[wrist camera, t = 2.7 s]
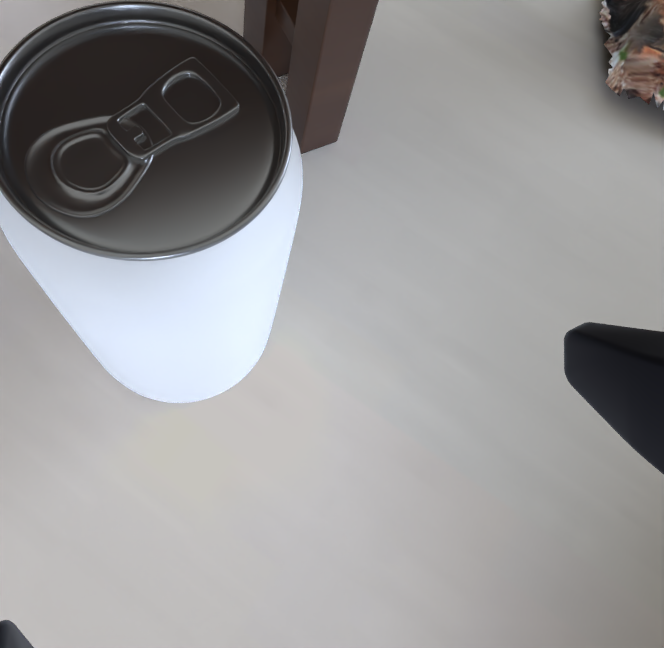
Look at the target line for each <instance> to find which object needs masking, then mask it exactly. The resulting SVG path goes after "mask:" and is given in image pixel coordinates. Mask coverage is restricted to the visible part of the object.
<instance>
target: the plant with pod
mask: <svg viewBox="0 0 664 648" xmlns="http://www.w3.org/2000/svg"><path fill="white" fill-rule="evenodd" d="M601 3H602V5H603V7H604V8H602V10H601V12H599V14H600V15H601V18H600V19H599V20H602V21H603V22H602V24H603V26H604V30H605V31H606V32H607V33H609V34H610V35H611V36H610V38H609V39H608V40H607V41H606V42H605V44H604V45H605V47H606V48H607V49H608V51H609V52H610V53H611V55H612V56H613V57H612V58H611V59H610V61H609V63H610V64H611V66H612V67H613V68H612V69H608V73H609V77H608V78H607V80H606V82H605V83H606V84H607V85H608V86H609V87H610V88H611V89H612V90H613V91H614V92H615V93H616V94H618V95H619V96H620V95H621V93H622V91H623V89H625V91H626V94H627V96H628V99H630V98H635V97H639V96H640V97H641V98H642V99H643V100H644V101H645V102H646V103H647V104H649V103H650V101H651V98H652V96H653V93H654V96H655V101H656V106H657V108H658V107H659V105H660V104H661V103H662V101H663V100H664V0H605V1H602V2H601ZM663 111H664V107H663Z"/></svg>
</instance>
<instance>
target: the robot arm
mask: <svg viewBox="0 0 664 648" xmlns="http://www.w3.org/2000/svg"><path fill="white" fill-rule="evenodd" d="M564 370H565V375H566V377H567V380H568V381H569V383H570V384H571V385H572V386H573V388H574V389H575V390H576V391H577V392H578V393H579V394H580V395H581V396H582V397H583V398H584V399H585V400H586V401H587V402H588V403H589V404H590V405H591V406H592V407H593V408H594V409H595V410H596V411H597V412H598V413H599V414H600V415H601V416H602V417H603V418H604V419H605V420H606V421H607V422H608V423H609V424H610V426H611V427H612V428H613V429H614V430H615V431H616V432H617V433H618V434H619V435H620V436H621V437H622V438H623V439H624V440H625V441H626V442H627V443H628V444H629V445H630V446H631V447H632V448H633V449H635V450H636V451H637V452H638V453H639V454H640V455H641V456H643V457H644V458H645V459H646V460H647V461H648V462H649V463H651V464H652V465H653V466H654V467H655V468H657V469H658V470H659V471H660V472H661V473H663V474H664V332H660V331H652V330H645V329H637V328H630V327H622V326H615V325H607V324H600V323H592V322H587V323H584V324H581V325H579V326H577V327H576V328H574V329H572V330H570V331H568V332H567V333H566V335H565V338H564ZM0 648H34V647H33V646H32V645H31V644H30V642H29V641H28V640H27V639H26V638H25V636H24V635H23V634H22V633H21V631H20V630H19V629H18V628H17V627H16V625H15V624H14V623H12V622H11V621H9V620H3V621H1V622H0Z"/></svg>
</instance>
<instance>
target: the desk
mask: <svg viewBox="0 0 664 648" xmlns="http://www.w3.org/2000/svg"><path fill="white" fill-rule="evenodd" d="M378 1H379V0H245V9H244V34H243V38H244V39H245V40H247V41H248V42H249V43H250V44H251V45H252V46H253V47H254V48H255V49H256V50H257V51H258V52H259V53H260V54H261V55H262V56H263V57H264V59H265V60H266V61H267V62H268V64H269V65H270V66H271V68H272V69H273V71H274V72H275V74H276V76H277V77H278V76H281V75H284V74H288V80H287V87H286V94H285V95H286V97H287V100H288V104H289V108H290V112H291V118H292V127H293V130H294V133H295V135H296V138H297V141H298V144H299V148H300V153H301V154H302V153H305V152H308V151H311V150H313V149H316V148H319V147H322V146H325V145H327V144H330V143H333V142H336V141H337V139H338V136H339V133H340V129H341V126H342V122H343V119H344V116H345V112H346V109H347V106H348V102H349V99H350V95H351V92H352V89H353V85H354V82H355V78H356V75H357V72H358V68H359V65H360V62H361V58H362V55H363V51H364V48H365V45H366V41H367V38H368V34H369V31H370V28H371V24H372V21H373V18H374V14H375V11H376V7H377V4H378Z"/></svg>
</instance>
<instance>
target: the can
mask: <svg viewBox="0 0 664 648" xmlns="http://www.w3.org/2000/svg"><path fill="white" fill-rule="evenodd" d="M302 189H303V167H302V158H301V153H300V148H299V144H298V141H297V138H296V135H295V133H294V130H293V127H292V118H291V112H290V108H289V104H288V100H287V97H286V95H285V92H284V90H283V87H282V85H281V83H280V81H279V79H278V78H277V76H276V74H275V72H274V71H273V69H272V68H271V66H270V65H269V64H268V62H267V61H266V60H265V59H264V57H263V56H262V55H261V54H260V53H259V52H258V51H257V50H256V49H255V48H254V47H253V46H252V45H251V44H250V43H249V42H248V41H247V40H245V39H244V38H243V37H242V36H240V35H239V34H238V33H236V32H235V31H233V30H232V29H230V28H229V27H227V26H226V25H224V24H222V23H220V22H219V21H217V20H215V19H213V18H211V17H208V16H206V15H204V14H201V13H199V12H196V11H193V10H190V9H187V8H184V7H180V6H176V5H172V4H167V3H161V2H154V1H141V0H124V1H111V2H104V3H98V4H93V5H89V6H85V7H81V8H78V9H75V10H72V11H69V12H67V13H64V14H62V15H60V16H58V17H55V18H53V19H51V20H50V21H48V22H46V23H44V24H43V25H41V26H39V27H38V28H36V29H35V30H33V31H32V32H31V33H29V34H28V35H27V36H26V37H24V38H23V39H22V40H21V41H20V42H19V43H18V44H17V45H16V46H15V47H14V48H13V49H12V50H11V51H10V52H9V53H8V54H7V56H6V57H5V58H4V59H3V61H2V62H1V64H0V226H1V228H2V230H3V233H4V235H5V236H6V238H7V240H8V241H9V243H10V245H11V246H12V248H13V249H14V251H15V252H16V254H17V255H18V257H19V258H20V259H21V261H22V262H23V264H24V265H25V266H26V268H27V269H28V270H29V272H30V273H31V274H32V276H33V277H34V278H35V280H36V281H37V282H38V284H39V285H40V286H41V288H42V289H43V290H44V292H45V293H46V294H47V296H48V297H49V298H50V300H51V301H52V302H53V304H54V305H55V306H56V307H57V309H58V310H59V311H60V313H61V314H62V315H63V317H64V318H65V319H66V320H67V322H68V323H69V324H70V326H71V327H72V328H73V329H74V331H75V332H76V333H77V335H78V336H79V337H80V338H81V340H82V341H83V342H84V344H85V345H86V346H87V347H88V349H89V350H90V351H91V352H92V354H93V355H94V356H95V357H96V359H97V360H98V361H99V362H100V364H101V365H102V366H103V367H104V368H105V369H106V370H107V371H108V372H109V373H110V374H111V375H112V376H113V377H114V378H115V379H116V380H118V381H119V382H120V383H121V384H123V385H124V386H126V387H127V388H129V389H130V390H132V391H134V392H135V393H137V394H139V395H141V396H144V397H147V398H149V399H153V400H157V401H162V402H170V403H187V402H194V401H200V400H204V399H207V398H210V397H213V396H215V395H218V394H220V393H222V392H224V391H226V390H228V389H229V388H231V387H232V386H234V385H235V384H237V383H238V382H239V381H240V380H242V379H243V378H244V377H245V376H246V375H247V374H248V373H249V372H250V371H251V369H252V368H253V367H254V366H255V364H256V363H257V361H258V360H259V358H260V356H261V355H262V353H263V351H264V349H265V346H266V344H267V341H268V338H269V335H270V331H271V328H272V324H273V320H274V316H275V312H276V308H277V304H278V300H279V296H280V292H281V288H282V284H283V280H284V276H285V272H286V268H287V264H288V259H289V255H290V251H291V247H292V243H293V238H294V234H295V230H296V225H297V221H298V216H299V210H300V205H301V199H302Z"/></svg>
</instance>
